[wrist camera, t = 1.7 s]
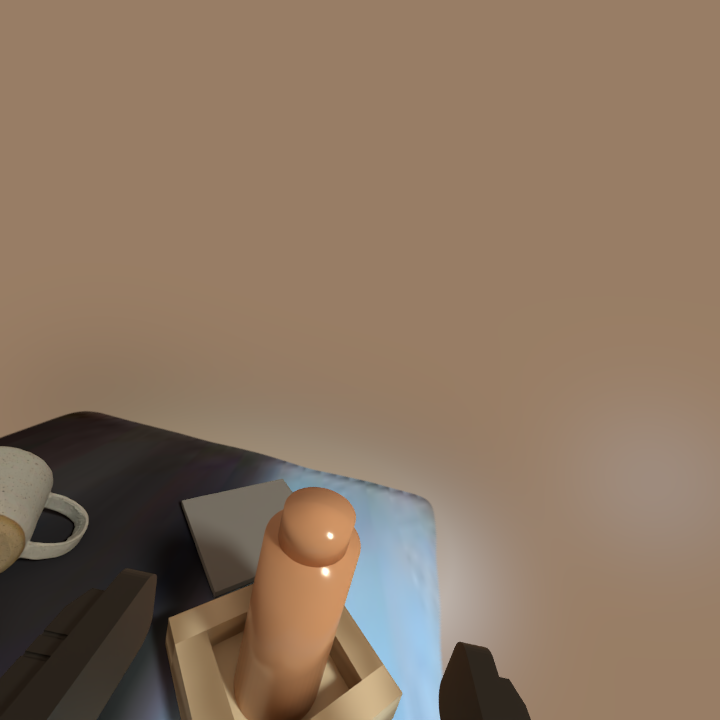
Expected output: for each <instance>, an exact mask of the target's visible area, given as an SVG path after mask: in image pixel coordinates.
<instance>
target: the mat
mask: <svg viewBox="0 0 720 720" xmlns="http://www.w3.org/2000/svg"><path fill="white" fill-rule="evenodd" d="M292 493H293V492H292V491H291V490H290V488H289V487H288V485H287V484H286V483H285V481H284V480H283V479H280V480H275V481H270V482H266V483H261V484H257V485H252V486H247V487H243V488H238V489H234V490H229V491H224V492H220V493H215V494H211V495H206V496H201V497H197V498H192V499H188V500H183V501H182V504H181V506H182V509H183V512H184V514H185V517H186V520H187V523H188V526H189V528H190V531H191V534H192V537H193V540H194V543H195V545H196V548H197V551H198V554H199V557H200V559H201V562H202V565H203V568H204V571H205V573H206V576H207V579H208V582H209V585H210V588H211V590H212V593H213V596H214V598H215V597H218V596H220V595H223V594H225V593H227V592H230V591H232V590H235V589H237V588H240V587H242V586H245V585H247V584H250V583H252V582H254V580H255V575H256V571H257V566H258V561H259V556H260V552H261V547H262V542H263V538H264V533H265V529H266V526H267V524H268V522H269V521H270V519H271V518H272V517H273V516H274V515H275V514H276V513H278V512H279V511H281V510H283V509H284V505H285V501H286V499H287V498H288V497H289V496H290V495H291V494H292Z"/></svg>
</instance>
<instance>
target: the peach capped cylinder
mask: <svg viewBox="0 0 720 720" xmlns="http://www.w3.org/2000/svg"><path fill="white" fill-rule="evenodd" d="M355 521H356V514H355V511H354V508H353V507H352V505H351V504H350V502H349V501H348V500H347V499H345V498H344V497H343V496H341V495H340V494H338V493H336V492H334V491H332V490H329V489H325V488H319V487H308V488H303V489H299V490H297V491H295V492H293V493H292V494H291V495H290V496H289V497H288V498H287V499H286V501H285V505H284V509H283V510H281V511H279V512H278V513H276V514H275V515H274V516H273V517H272V518H271V519H270V521H269V522H268V524H267V526H266V529H265V533H264V538H263V542H262V547H261V552H260V556H259V561H258V566H257V571H256V575H255V580H254V585H253V589H252V594H251V599H250V603H249V608H248V613H247V617H246V622H245V627H244V631H243V636H242V641H241V645H240V650H239V655H238V660H237V664H236V669H235V674H234V684H233V687H234V695H235V699H236V702H237V705H238V707H239V709H240V711H241V712H242V714H243V715H244V716H245V717H246V719H247V720H301V719H302V718H303V717H304V716H305V715H306V714H307V713H308V712H309V710H310V709H311V707H312V705H313V704H314V702H315V699H316V697H317V694H318V690H319V687H320V684H321V681H322V677H323V674H324V671H325V667H326V664H327V661H328V657H329V654H330V651H331V647H332V644H333V641H334V638H335V634H336V631H337V628H338V624H339V621H340V618H341V614H342V611H343V608H344V604H345V601H346V598H347V594H348V591H349V588H350V585H351V581H352V578H353V575H354V571H355V568H356V565H357V561H358V558H359V555H360V549H361V545H360V539H359V536H358V533H357V532H356V530H355V528H354V525H355Z"/></svg>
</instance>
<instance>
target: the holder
mask: <svg viewBox="0 0 720 720" xmlns="http://www.w3.org/2000/svg"><path fill="white" fill-rule="evenodd" d="M253 585H254V584H251V585H249V586H246V587H244V588H241V589H239V590H236V591H234V592H232V593H229V594H227V595H224V596H222V597H219V598H217V599H214V600H212V601H209V602H207V603H204V604H202V605H200V606H197V607H195V608H192V609H190V610H187V611H185V612H182V613H180V614H177V615H175V616H172V617H170V618H169V620H168V627H167V635H166V642H165V645H166V650H167V655H168V660H169V664H170V669H171V674H172V679H173V683H174V688H175V693H176V698H177V702H178V707H179V712H180V717H181V720H247V719H246V717H245V716H244V715H243V714H242V712H241V711H240V709H239V707H238V705H237V702H236V699H235V695H234V687H233V684H234V674H235V669H236V664H237V660H238V655H239V650H240V645H241V641H242V636H243V631H244V627H245V622H246V617H247V613H248V608H249V603H250V599H251V594H252V589H253ZM401 696H402V692H401V690H400V689H399V687H398V686H397V684H396V683H395V681H394V680H393V678H392V677H391V675H390V674H389V672H388V671H387V669H386V668H385V666H384V665H383V663H382V662H381V660H380V659H379V657H378V656H377V654H376V653H375V651H374V650H373V648H372V647H371V645H370V644H369V642H368V641H367V639H366V638H365V636H364V635H363V633H362V631H361V630H360V628H359V627H358V625H357V624H356V622H355V621H354V619H353V618H352V616H351V615H350V613H349V612H348V610H347V609H346V607H345V606H344V608H343V611H342V614H341V618H340V621H339V624H338V628H337V631H336V634H335V638H334V641H333V644H332V647H331V651H330V654H329V657H328V661H327V664H326V667H325V671H324V674H323V677H322V681H321V684H320V687H319V690H318V694H317V697H316V699H315V702H314V704H313V705H312V707H311V709H310V710H309V712H308V713H307V714H306V715H305V716H304V717H303V718H302V719H301V720H392V719H393V717H394V714H395V711H396V709H397V706H398V704H399V701H400V698H401Z"/></svg>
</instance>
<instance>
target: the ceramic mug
mask: <svg viewBox="0 0 720 720" xmlns="http://www.w3.org/2000/svg"><path fill="white" fill-rule="evenodd" d="M52 485H53V476H52V471H51V469H50V468H49V466H48V465H47V464H46V463H45V461H43V460H42V459H40V458H39V457H37V456H36V455H34V454H32V453H30V452H27V451H24V450H21V449H18V448H12V447H4V446H2V447H0V573H2V572H3V571H5V570H6V569H7V568H9V567H10V566H11V565H12V564H13V563H14V562H15V561H16V560H17V559H18V558H27V559H33V560H40V559H48V558H55V557H58V556H61V555H63V554H65V553H67V552H69V551H70V550H71V549H73V548H74V547H75V546H76V545H77V544H78V542H79V541H80V539H81V538H82V536H83V534H84V533H85V531H86V529H87V526H88V520H89V519H88V514H87V512H86V511H85V509H84V508H83V507H82V506H80V505H79V504H78V503H76V502H75V501H73V500H71V499H69V498H67V497H65V496H62V495H58V494H55V493H52V492H51V489H52ZM44 508H47V509H51V510H54V511H57V512H59V513H61V514H63V515H65V516H67V517H68V518H70V519H71V520H72V521H73V522H74V526H75V528H74V531H73V534H72V536H70V537H69V538H68V539H67V541H65V542H60V543H40V542H31V541H30V539H31V537H32V535H33V532H34V530H35V527H36V524H37V521H38V519H39V517H40V515H41V513H42V511H43V509H44Z"/></svg>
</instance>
